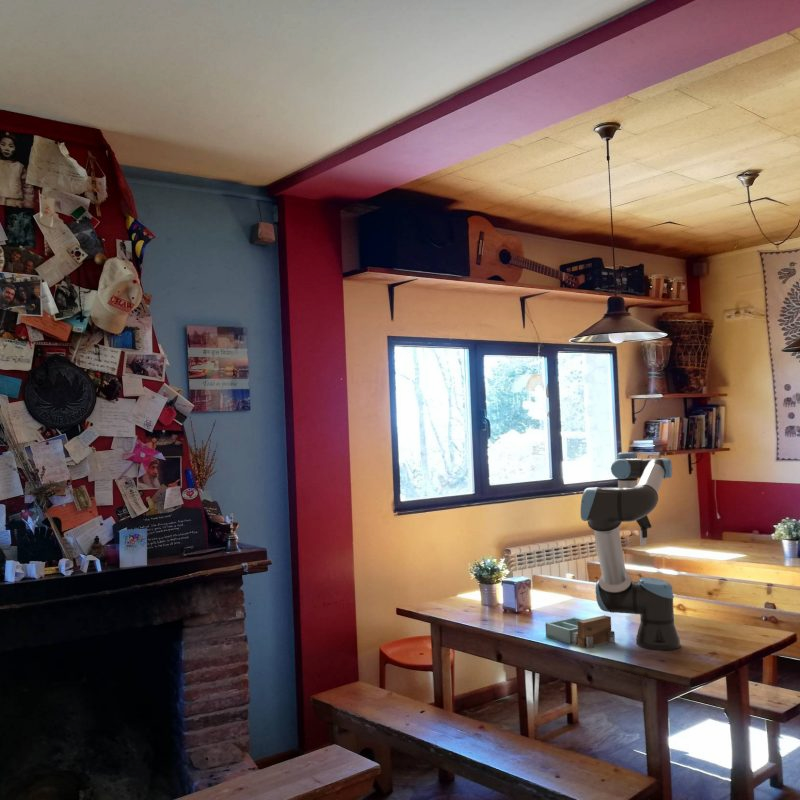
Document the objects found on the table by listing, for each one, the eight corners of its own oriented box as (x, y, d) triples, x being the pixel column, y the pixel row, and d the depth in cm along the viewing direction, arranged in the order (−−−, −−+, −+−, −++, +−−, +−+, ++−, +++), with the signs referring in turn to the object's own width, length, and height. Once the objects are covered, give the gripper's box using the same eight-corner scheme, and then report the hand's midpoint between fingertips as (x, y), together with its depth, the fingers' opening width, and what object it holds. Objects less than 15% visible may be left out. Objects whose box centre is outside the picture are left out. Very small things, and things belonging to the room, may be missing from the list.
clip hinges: (614, 642, 291) (614, 631, 291) (588, 648, 284) (588, 637, 284) (597, 637, 298) (597, 626, 298) (571, 643, 291) (571, 632, 291)
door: (613, 641, 292) (612, 617, 292) (586, 648, 285) (585, 623, 285) (605, 639, 295) (604, 615, 296) (578, 646, 288) (577, 621, 288)
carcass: (599, 637, 298) (598, 623, 299) (570, 643, 290) (569, 630, 291) (574, 629, 309) (574, 617, 310) (545, 636, 301) (545, 623, 302)
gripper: (659, 492, 309) (661, 546, 308) (611, 488, 330) (612, 539, 330) (646, 493, 305) (648, 548, 304) (598, 489, 326) (600, 541, 326)
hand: (629, 544), depth 317 cm, fingers open, 13 cm apart
